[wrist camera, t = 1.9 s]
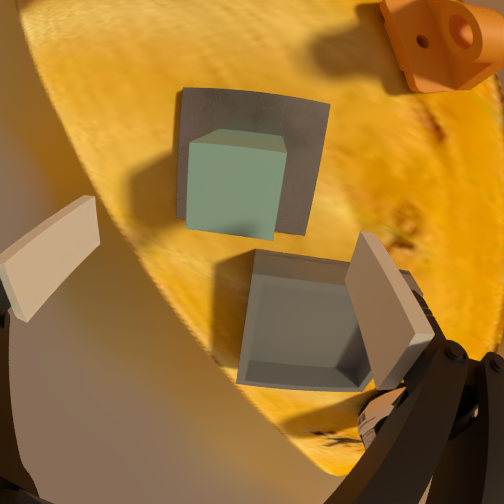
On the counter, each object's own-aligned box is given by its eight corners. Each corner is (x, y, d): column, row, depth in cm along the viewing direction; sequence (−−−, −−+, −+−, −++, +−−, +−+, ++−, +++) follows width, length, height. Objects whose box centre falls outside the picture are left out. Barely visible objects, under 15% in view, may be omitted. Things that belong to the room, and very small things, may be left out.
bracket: (373, 3, 17) (424, -40, 7) (427, 4, 15) (489, -23, 5) (406, 93, 22) (477, 97, 11) (456, 89, 20) (529, 97, 10)
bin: (255, 248, 32) (252, 273, 28) (408, 270, 32) (423, 294, 28) (239, 358, 42) (235, 383, 38) (357, 367, 42) (362, 391, 38)
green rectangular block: (219, 128, 25) (189, 142, 16) (282, 136, 25) (287, 153, 16) (214, 186, 28) (186, 228, 19) (273, 194, 28) (272, 240, 19)
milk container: (431, 397, 48) (449, 460, 33) (366, 424, 54) (374, 487, 38) (425, 365, 42) (451, 445, 26) (344, 399, 48) (353, 480, 32)
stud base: (186, 88, 24) (164, 84, 18) (328, 104, 23) (342, 104, 18) (179, 214, 31) (160, 239, 25) (304, 231, 30) (309, 260, 25)
